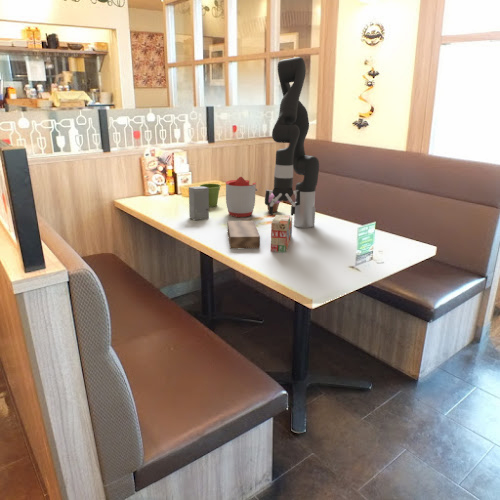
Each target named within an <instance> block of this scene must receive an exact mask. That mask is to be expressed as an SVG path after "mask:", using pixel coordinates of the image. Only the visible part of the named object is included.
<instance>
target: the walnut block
mask: <svg viewBox="0 0 500 500" xmlns="http://www.w3.org/2000/svg"><path fill="white" fill-rule="evenodd" d="M226 224H227V225H226V226H227V227H226V228H227V230H226V231H228V232H227V236H228V237H229V238H228V242H229V243H228V244H229V248H230V249H231V250H233V249H234V250H237V249H238V248H244V249H260V247H261V246H260V245H261V236H260V234H259V230H258V228H257V225H256V223H255V220H227V223H226ZM238 250H239V249H238Z"/></svg>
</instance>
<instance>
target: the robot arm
mask: <svg viewBox="0 0 500 500" xmlns="http://www.w3.org/2000/svg"><path fill="white" fill-rule="evenodd" d="M306 70H307V68H306V62H305V60H304V59H303V57H300V56H297V57H291V58H286V59H285V58H284V59H280V60H279V61H278V62H277V74H278V76H277V77H278V80H279V85H280V88H281V93H282V96H283V97H282V98H281V102H280V104H279V111H278V112H279V113H278V117H277V120H276V122H275V124H274V126H273V129H272V132H271V137H272V140H273V141H274V142H275V143H278V144H279V143H281V144H282V143H283V144H289V145H288V146H287V147H285V148H279V149H277V150H276V152H275V167H274V171H273V172H274V175H273V176H274V177H273V178H274V179H273V189H271V190H270V189H265V195H264V196H265V197H264V204H265V206H267V205H268V206H269V211H268V214H269V215H270V216H272V217H273V213H274V212H273V205H274V203H276V201H277V200H278V201H281V202H287V201H288V202H289V203H290V205H291V206H290V217H293V226H294V227H296V228H301V229H308V228H314V227H315V220H316V206H315V202H316V190H317V189H316V187H317V185H318V179H319V170H320V162H319V159H318V157H316V156H314V155H306V151H305V140H306V137H307V135H308V133H309V130H310V129H309V128H310V121H309V120H310V119H309V114H308V110H307V109H306V107H305V105H304V104H303V102H301V101H300V97H301V93H302V90H303V86H304V82H305V78H306ZM291 83H292V85H291ZM294 173H296V174H297V175H300V176H303V181H301V182H296V184H295V190H293V187H294V186H293V185H294V184H293V183H294ZM272 193H273V195H274V197H273V199H272V200H271V202H269V196H270V195H271V194H272ZM293 195H294V196H295V197H294V201H293V199H292V196H293ZM268 206H267V207H268Z"/></svg>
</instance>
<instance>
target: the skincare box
mask: <svg viewBox="0 0 500 500" xmlns="http://www.w3.org/2000/svg"><path fill="white" fill-rule="evenodd" d="M188 205H189V206H188V208H189V214H188V215H189V218H190V219H191V220H193V221H201V220H206V219H207V220H208V219H210V209H209V188H207V187H204V186H200V185H199V186H189V187H188Z"/></svg>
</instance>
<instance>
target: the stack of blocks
mask: <svg viewBox="0 0 500 500" xmlns="http://www.w3.org/2000/svg"><path fill="white" fill-rule="evenodd" d="M270 223H271V226H270V227H271V230H270V252H274V251H276V252H277V253H287V250H288V248H289V246H288V245H290V242H291V239H292V236H293V235H292V234H293V216H291V214H290V215H286V214H275V216H274V218H273V219H272V221H271V222H270Z"/></svg>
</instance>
